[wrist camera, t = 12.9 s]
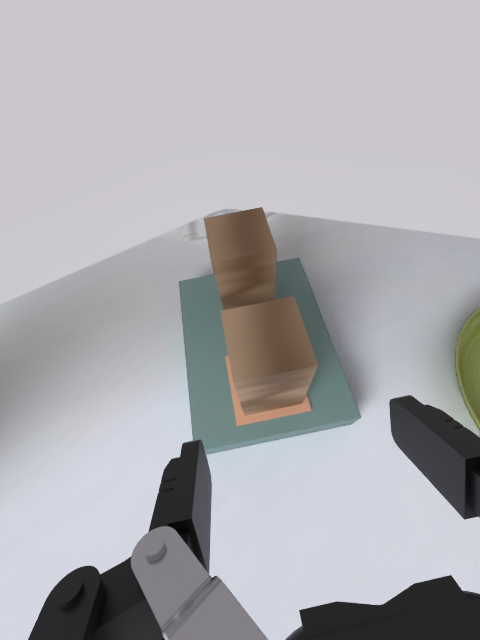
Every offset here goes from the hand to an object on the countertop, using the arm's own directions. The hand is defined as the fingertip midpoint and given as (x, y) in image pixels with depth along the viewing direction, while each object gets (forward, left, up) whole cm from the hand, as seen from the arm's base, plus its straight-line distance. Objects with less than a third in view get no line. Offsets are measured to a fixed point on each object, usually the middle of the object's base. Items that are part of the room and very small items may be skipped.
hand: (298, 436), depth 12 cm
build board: (0, +11, -15) cm, 19 cm away
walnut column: (0, +16, -12) cm, 20 cm away
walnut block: (0, +6, -12) cm, 14 cm away
